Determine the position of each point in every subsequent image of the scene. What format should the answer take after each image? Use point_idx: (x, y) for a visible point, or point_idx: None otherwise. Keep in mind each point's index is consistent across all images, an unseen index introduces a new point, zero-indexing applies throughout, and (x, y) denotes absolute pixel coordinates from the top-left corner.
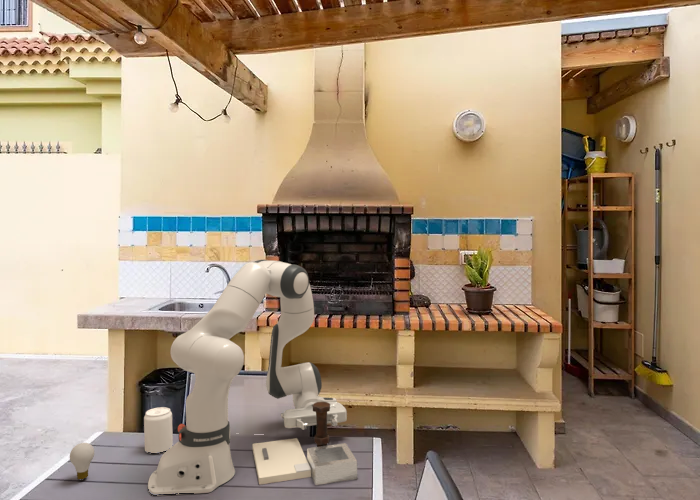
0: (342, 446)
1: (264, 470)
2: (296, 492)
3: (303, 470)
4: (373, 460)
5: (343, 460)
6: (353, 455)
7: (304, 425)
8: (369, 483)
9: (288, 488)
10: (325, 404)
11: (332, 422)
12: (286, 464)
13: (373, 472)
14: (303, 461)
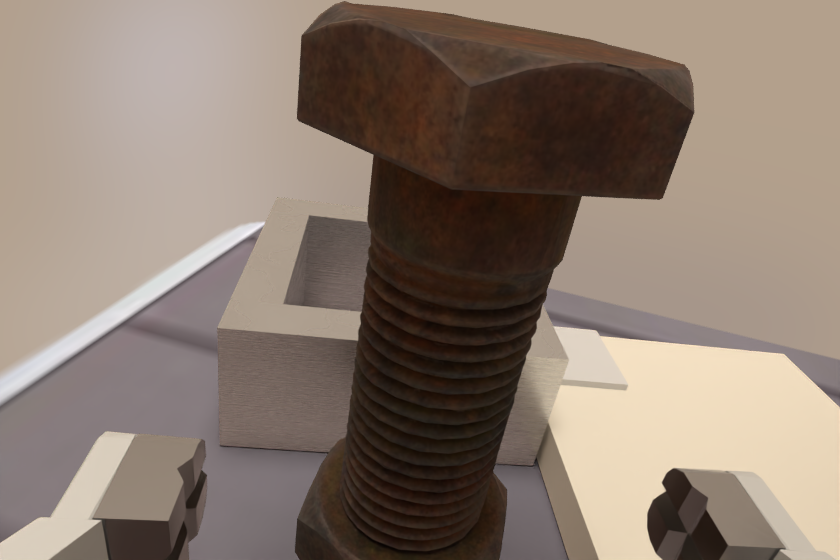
0: (275, 301)
1: (800, 401)
2: (566, 299)
3: (557, 327)
4: (27, 381)
5: (347, 214)
6: (266, 222)
7: (709, 471)
8: (240, 254)
9: (608, 326)
10: (426, 17)
11: (200, 467)
12: (684, 416)
13: (154, 296)
14: (570, 413)
